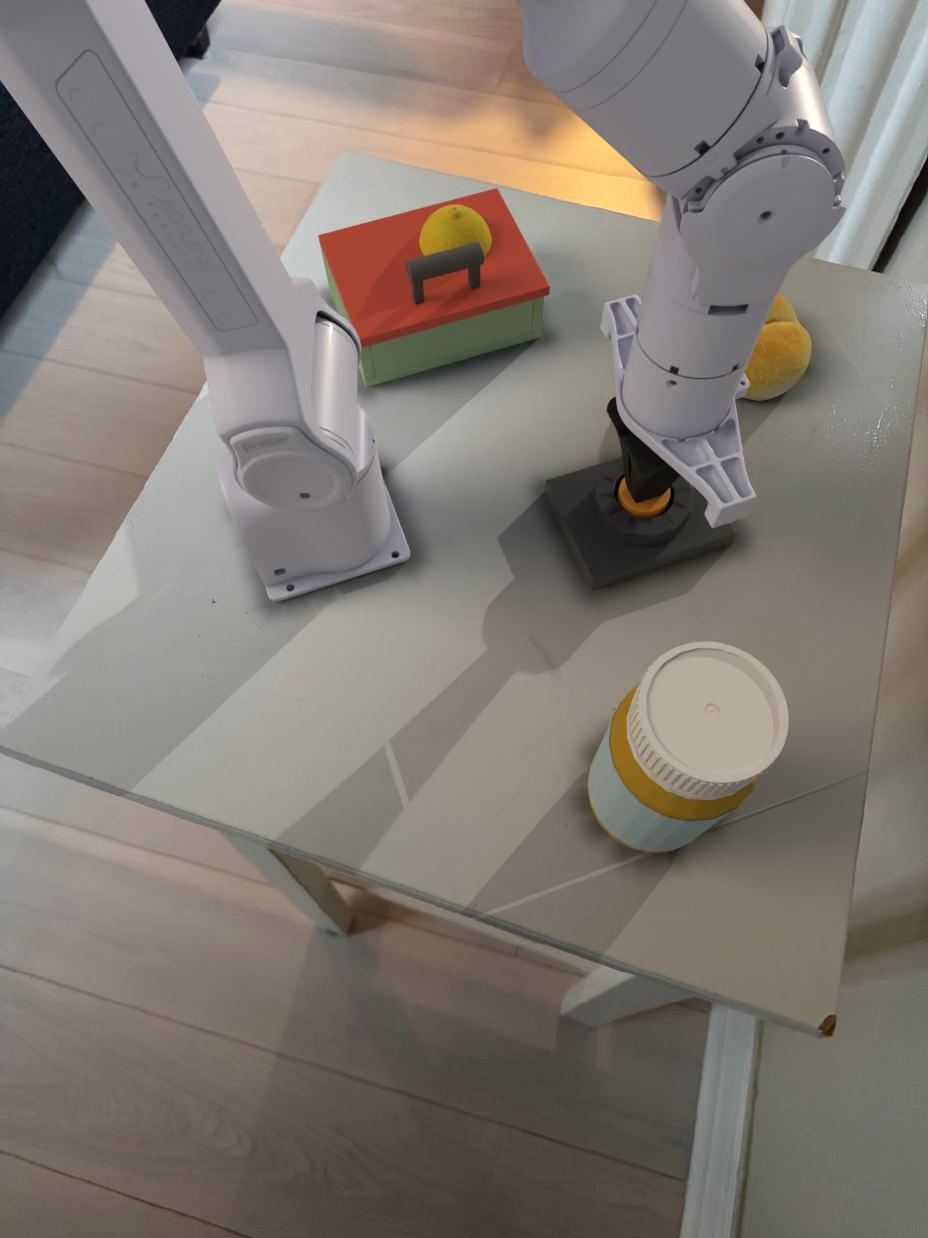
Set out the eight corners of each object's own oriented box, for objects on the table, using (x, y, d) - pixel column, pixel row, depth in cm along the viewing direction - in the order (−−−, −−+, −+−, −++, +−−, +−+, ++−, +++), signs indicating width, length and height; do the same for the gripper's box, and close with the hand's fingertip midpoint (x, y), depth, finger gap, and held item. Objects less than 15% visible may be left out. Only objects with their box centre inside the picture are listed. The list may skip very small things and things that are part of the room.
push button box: (590, 591, 53) (596, 569, 50) (544, 491, 56) (547, 465, 53) (731, 544, 54) (745, 520, 51) (678, 449, 57) (688, 422, 55)
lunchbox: (541, 337, 62) (545, 287, 57) (366, 388, 60) (357, 340, 56) (496, 250, 66) (497, 197, 61) (331, 295, 64) (319, 244, 60)
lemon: (494, 326, 62) (495, 237, 55) (420, 327, 62) (411, 238, 55) (493, 272, 64) (495, 179, 57) (422, 272, 64) (414, 180, 57)
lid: (549, 295, 57) (554, 247, 53) (360, 348, 55) (351, 303, 52) (497, 196, 61) (498, 146, 57) (319, 243, 60) (309, 194, 56)
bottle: (622, 876, 46) (681, 823, 32) (565, 762, 48) (597, 668, 35) (731, 824, 47) (834, 752, 33) (670, 715, 49) (742, 607, 36)
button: (627, 532, 53) (632, 518, 51) (607, 492, 54) (611, 477, 53) (673, 517, 53) (679, 503, 52) (652, 478, 55) (657, 463, 53)
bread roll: (717, 417, 58) (732, 378, 55) (671, 324, 62) (683, 282, 58) (825, 391, 59) (848, 351, 55) (774, 300, 63) (792, 258, 59)
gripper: (847, 424, 37) (757, 566, 50) (703, 212, 43) (654, 387, 55) (705, 469, 37) (649, 602, 49) (578, 247, 42) (557, 416, 55)
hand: (645, 490), depth 52 cm, fingers closed, pressing on button
